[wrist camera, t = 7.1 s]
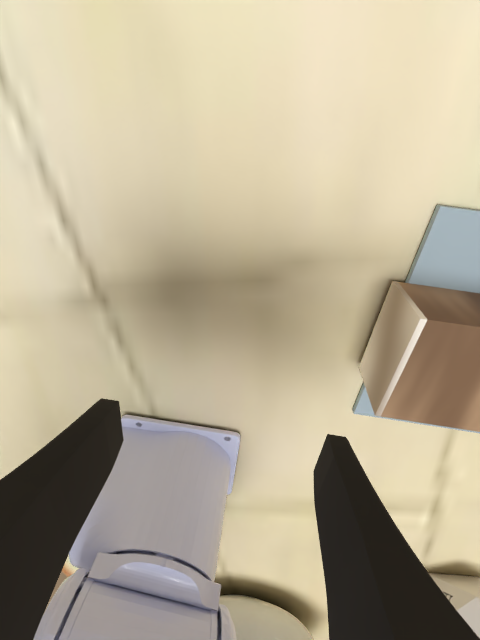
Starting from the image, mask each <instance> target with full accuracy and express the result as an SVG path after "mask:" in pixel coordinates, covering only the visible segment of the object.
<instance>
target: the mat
mask: <svg viewBox="0 0 480 640" xmlns="http://www.w3.org/2000/svg"><path fill="white" fill-rule="evenodd" d="M405 283H410V284H417V285H424V286H432V287H439V288H446V289H453V290H460V291H467V292H474V293H480V210H474V209H467V208H459V207H452V206H444V205H437V206H436V208H435V211H434V213H433V215H432V218H431V220H430V223H429V225H428V228H427V230H426V232H425V235H424V237H423V240H422V242H421V245H420V247H419V249H418V252H417V254H416V257H415V259H414V262H413V264H412V266H411V269H410V271H409V274H408V276H407V279H406V281H405ZM353 413H354V414H360V415H366V416H372V417H379V418H385V419H392V420H398V421H404V422H411V423H417V424H424V425H430V426H436V427H443V428H449V429H456V430H462V431H468V432H475V433H480V432H477V431H470V430H464V429H457V428H451V427H445V426H438V425H432V424H425V423H419V422H413V421H406V420H400V419H393V418H387V417H381V416H375V415H374V412H373V409H372V406H371V403H370V400H369V397H368V394H367V391H366V388H365V385H364V383H363V385H362V388H361V390H360V392H359V395H358V397H357V400H356V402H355V405H354V407H353Z"/></svg>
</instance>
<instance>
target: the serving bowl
mask: <svg viewBox="0 0 480 640" xmlns="http://www.w3.org/2000/svg"><path fill="white" fill-rule="evenodd" d="M219 604H222V605H225V606H226V607H227V608H228V610H229V612H230V616H231V619H232V621H233V623H234V626H235V631H236V640H314V639H313V637H312V635H311V634H310V632H309V631H308V630H307V628H306V627H305V626H304V625H303V624H302V623H301V622H300V621H299V620H298V619H297V618H296V617H295V616H293V615H292V614H291V613H289V612H287V611H286V610H284V609H282V608H280V607H278V606H276V605H273V604H271V603H268V602H265V601H262V600H260V599H257V598H254V597H250V596H244V595H222V596H220V598H219Z"/></svg>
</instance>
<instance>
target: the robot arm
mask: <svg viewBox="0 0 480 640" xmlns="http://www.w3.org/2000/svg"><path fill="white" fill-rule="evenodd" d="M240 438H241V437H240V434H239V433H237V432H233V431H226V430H220V429H214V428H208V427H201V426H195V425H189V424H183V423H176V422H170V421H164V420H158V419H152V418H145V417H139V416H133V415H123V416H122V418H121V415H120V406H119V401H114V400H108V399H100V400H99V401H98V402H96V403H95V404H94V405H93V406H92V407H91V408H90V409H88V410H87V411H86V412H85V413H84V414H83V415H82V416H80V417H79V418H78V419H77V420H76V421H75V422H73V423H72V424H71V425H70V426H69V427H68V428H66V429H65V430H64V431H63V432H62V433H60V434H59V435H58V436H57V437H56V438H54V439H53V440H52V441H51V442H49V443H48V444H47V445H46V446H45V447H43V448H42V449H41V450H40V451H38V452H37V453H36V454H34V455H33V456H32V457H30V458H29V459H28V460H26V461H25V462H24V463H23V464H21V465H20V466H19V467H17V468H16V469H15V470H13V471H12V472H11V473H9V474H8V475H6V476H5V477H4V478H2V479H1V480H0V640H236V631H235V626H234V623H233V621H232V619H231V616H230V612H229V610H228V608H227V607H226V606H225V605H222V604H219V598H220V591H221V585H220V584H218V583H215V582H214V581H215V574H216V567H217V560H218V553H219V546H220V539H221V532H222V525H223V518H224V512H225V505H226V498H227V495H228V494H230V493H231V492H232V487H233V481H234V475H235V469H236V463H237V456H238V450H239V444H240ZM314 501H315V510H316V518H317V525H318V533H319V540H320V547H321V554H322V561H323V569H324V576H325V584H326V593H327V606H328V624H329V640H480V638H479V637H478V636H477V635H476V633H475V632H474V631H473V630H472V629H471V627H470V626H469V625H468V624H467V622H466V621H465V620H464V619H463V618H462V616H461V615H460V614H459V613H458V611H457V610H456V609H455V608H454V606H453V605H452V604H451V603H450V601H449V600H448V599H447V597H446V596H445V595H444V593H443V592H442V591H441V589H440V588H439V587H438V585H437V584H436V583H435V581H434V580H433V579H432V577H431V576H430V575H429V573H428V572H427V570H426V569H425V568H424V566H423V565H422V563H421V562H420V561H419V559H418V558H417V556H416V555H415V553H414V552H413V551H412V549H411V548H410V546H409V545H408V543H407V542H406V540H405V539H404V537H403V535H402V534H401V532H400V531H399V529H398V528H397V526H396V525H395V523H394V522H393V520H392V518H391V517H390V515H389V513H388V512H387V510H386V509H385V507H384V505H383V503H382V502H381V500H380V498H379V497H378V495H377V493H376V492H375V490H374V488H373V486H372V485H371V483H370V481H369V479H368V477H367V476H366V474H365V472H364V470H363V468H362V466H361V465H360V463H359V461H358V459H357V457H356V455H355V453H354V451H353V449H352V447H351V445H350V443H349V441H348V440H347V438H346V437H342V436H336V435H329V434H327V437H326V440H325V442H324V445H323V448H322V450H321V453H320V456H319V458H318V461H317V464H316V466H315V469H314ZM68 554H69V559H70V562H71V564H72V565H73V566H75V567H77V568H80V569H78V570H77V571H76V572H75V573H74V574H72V575H71V576H69V577H68V578H66V579H65V580H64V581H63V582H62V583H61V585H60V586H59V588H58V589H57V591H56V593H55V595H54V596H53V598H52V600H51V602H50V603H49V605H48V607H47V609H46V606H47V604H48V602H49V599H50V597H51V594H52V592H53V589H54V587H55V584H56V582H57V580H58V578H59V575H60V573H61V571H62V568H63V566H64V564H65V561H66V559H67V556H68ZM89 571H90V572H89ZM45 609H46V611H45ZM44 611H45V613H44ZM43 614H44V615H43ZM42 616H43V617H42Z"/></svg>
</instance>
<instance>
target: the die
mask: <svg viewBox="0 0 480 640" xmlns="http://www.w3.org/2000/svg"><path fill="white" fill-rule="evenodd" d="M429 575H430V576H431V577H432V579H433V580H434V581H435V583H436V584H437V585H438V587H439V588H440V589H441V591H442V592H443V593H444V595H445V596H446V597H447V599H448V600H449V601H450V603H451V604H452V605H453V606H454V608H455V609H456V610H457V611H458V613H459V614H460V615H461V616H462V618H463V619H464V620H465V621H466V622H467V624H468V625H469V626H470V627H471V629H472V630H473V631H474V632H475V633H476V635H477V636H478V637H479V638H480V577H474V576H462V575H449V574H437V573H429Z"/></svg>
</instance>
